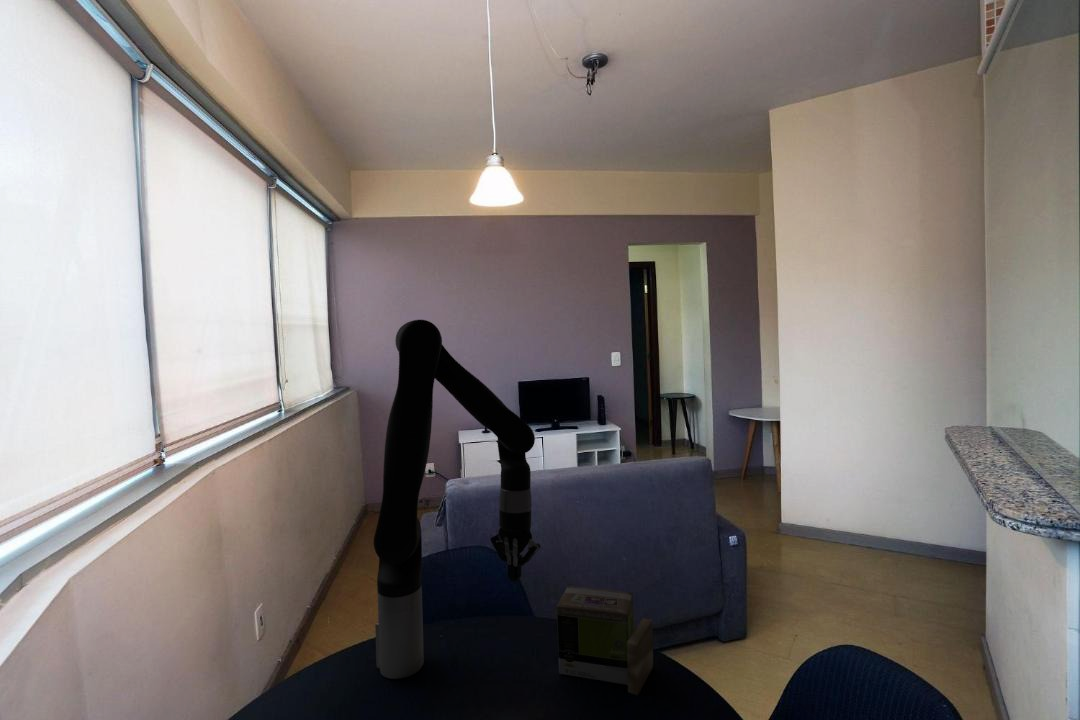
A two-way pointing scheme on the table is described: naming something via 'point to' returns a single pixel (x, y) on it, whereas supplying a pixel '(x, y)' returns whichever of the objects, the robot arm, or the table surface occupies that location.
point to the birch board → (639, 656)
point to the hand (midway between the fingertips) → (514, 579)
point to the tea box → (594, 633)
